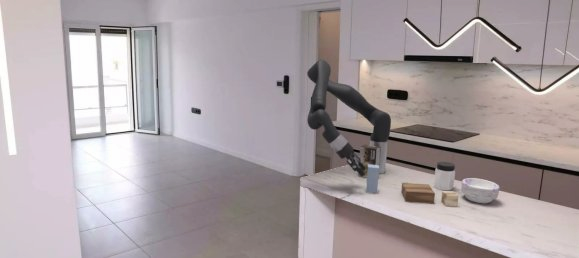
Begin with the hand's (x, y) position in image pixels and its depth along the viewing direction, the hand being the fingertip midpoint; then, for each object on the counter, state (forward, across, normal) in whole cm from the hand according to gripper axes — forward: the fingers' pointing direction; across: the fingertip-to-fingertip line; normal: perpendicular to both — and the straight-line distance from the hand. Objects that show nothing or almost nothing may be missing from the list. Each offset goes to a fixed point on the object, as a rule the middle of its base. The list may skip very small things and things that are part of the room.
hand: (363, 172), depth 186 cm
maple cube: (+32, +8, +21) cm, 39 cm away
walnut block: (+23, +4, +12) cm, 26 cm away
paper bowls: (+42, -2, +31) cm, 52 cm away
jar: (+33, -15, +21) cm, 42 cm away
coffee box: (+8, -22, -5) cm, 24 cm away
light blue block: (+9, +1, -3) cm, 9 cm away
